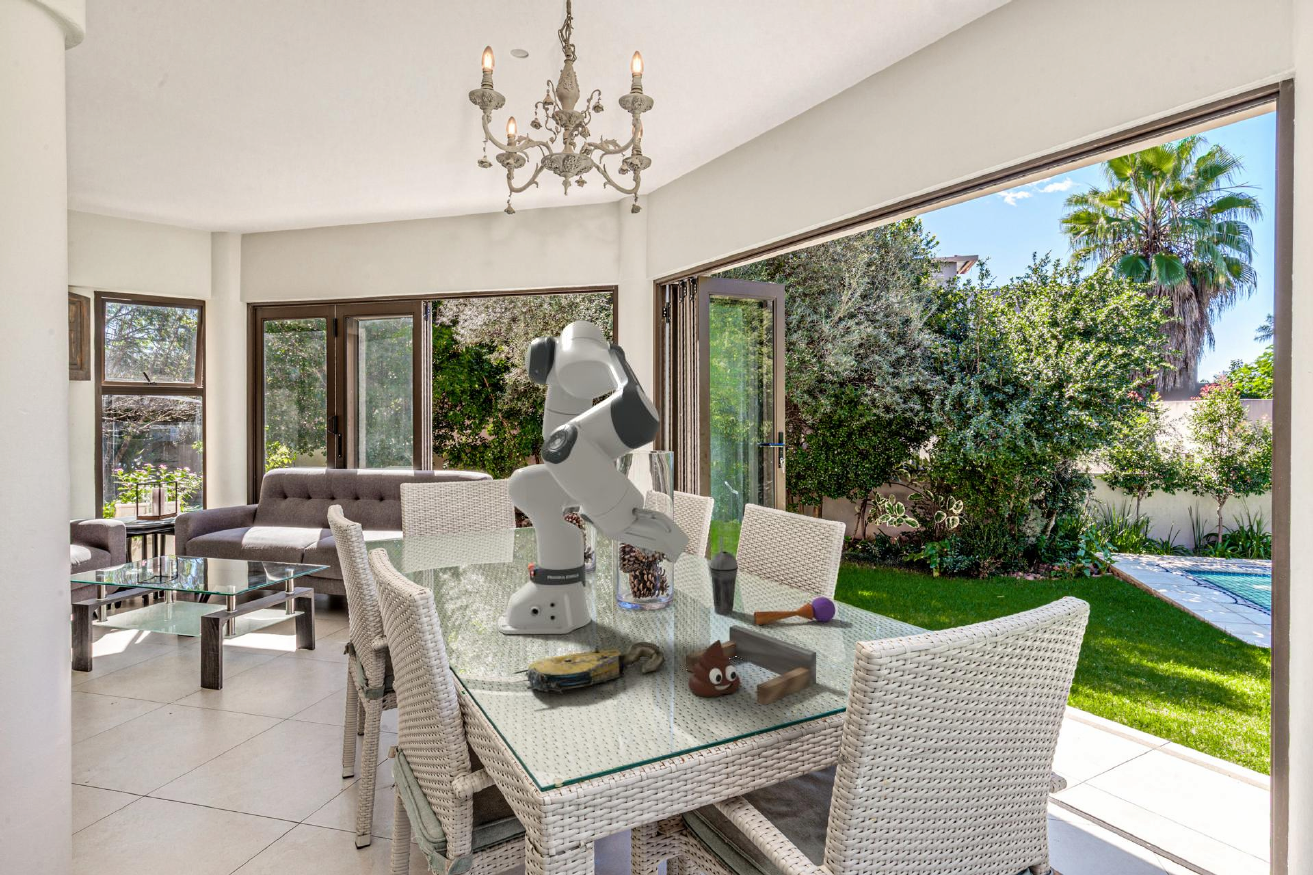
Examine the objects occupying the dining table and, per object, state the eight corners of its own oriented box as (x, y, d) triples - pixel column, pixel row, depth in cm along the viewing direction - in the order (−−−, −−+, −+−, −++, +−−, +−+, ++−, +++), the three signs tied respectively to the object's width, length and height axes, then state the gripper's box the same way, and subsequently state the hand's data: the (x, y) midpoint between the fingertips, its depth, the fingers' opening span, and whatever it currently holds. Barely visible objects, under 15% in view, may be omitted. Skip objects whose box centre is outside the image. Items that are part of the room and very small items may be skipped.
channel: (765, 705, 123) (765, 672, 123) (685, 669, 139) (685, 640, 139) (815, 682, 133) (816, 652, 132) (735, 652, 149) (735, 624, 148)
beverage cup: (743, 612, 176) (744, 535, 174) (721, 618, 172) (721, 538, 170) (725, 605, 182) (725, 530, 180) (703, 610, 178) (703, 533, 176)
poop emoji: (726, 676, 136) (726, 630, 136) (749, 693, 128) (749, 644, 128) (681, 685, 132) (681, 637, 132) (701, 703, 124) (701, 652, 124)
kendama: (751, 604, 170) (827, 594, 173) (754, 629, 169) (831, 618, 173) (758, 607, 164) (837, 596, 167) (761, 633, 164) (840, 621, 167)
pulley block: (678, 644, 136) (527, 671, 123) (680, 675, 135) (529, 704, 123) (649, 633, 148) (510, 656, 136) (651, 661, 148) (512, 686, 136)
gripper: (668, 498, 107) (713, 551, 114) (592, 485, 122) (636, 533, 129) (646, 530, 104) (694, 583, 111) (571, 513, 120) (617, 560, 126)
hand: (662, 556), depth 120 cm, fingers open, 5 cm apart
